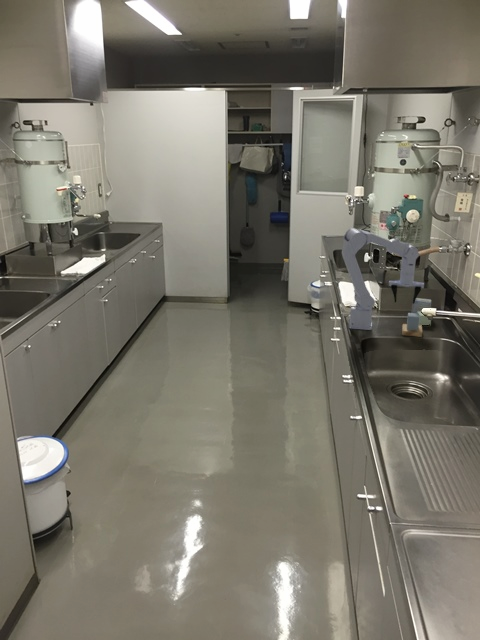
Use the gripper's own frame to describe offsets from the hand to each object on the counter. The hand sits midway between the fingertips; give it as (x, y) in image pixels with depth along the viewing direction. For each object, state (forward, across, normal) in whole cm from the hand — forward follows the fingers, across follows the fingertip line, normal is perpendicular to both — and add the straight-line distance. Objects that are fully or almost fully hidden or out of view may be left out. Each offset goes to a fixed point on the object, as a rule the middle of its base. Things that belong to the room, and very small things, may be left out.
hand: (404, 302), depth 230 cm
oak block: (+10, +4, -9) cm, 14 cm away
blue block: (+8, +4, -9) cm, 13 cm away
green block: (+11, +9, +3) cm, 14 cm away
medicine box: (+11, +8, +10) cm, 17 cm away
